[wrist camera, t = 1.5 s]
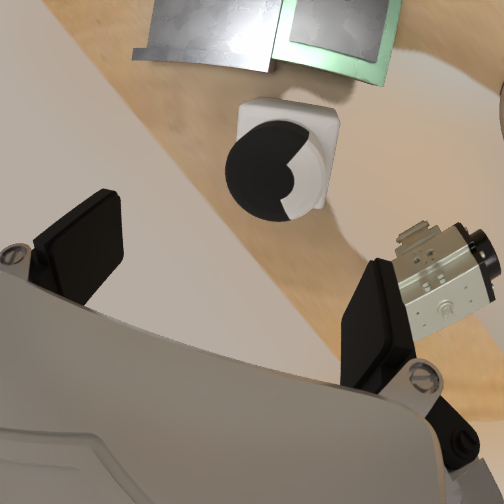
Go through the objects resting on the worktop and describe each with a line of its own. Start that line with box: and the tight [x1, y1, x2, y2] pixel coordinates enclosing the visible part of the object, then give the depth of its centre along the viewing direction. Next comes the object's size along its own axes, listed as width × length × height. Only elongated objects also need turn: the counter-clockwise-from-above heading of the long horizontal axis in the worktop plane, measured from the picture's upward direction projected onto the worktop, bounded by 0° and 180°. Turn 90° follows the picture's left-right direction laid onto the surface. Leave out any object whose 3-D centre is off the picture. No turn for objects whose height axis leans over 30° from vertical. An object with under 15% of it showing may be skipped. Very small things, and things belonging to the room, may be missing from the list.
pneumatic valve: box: [391, 221, 501, 342], centre depth 24 cm, size 6×12×12 cm, turn 131°
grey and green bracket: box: [132, 0, 402, 87], centre depth 18 cm, size 21×12×7 cm, turn 80°
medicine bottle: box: [225, 97, 340, 222], centre depth 22 cm, size 7×7×12 cm
